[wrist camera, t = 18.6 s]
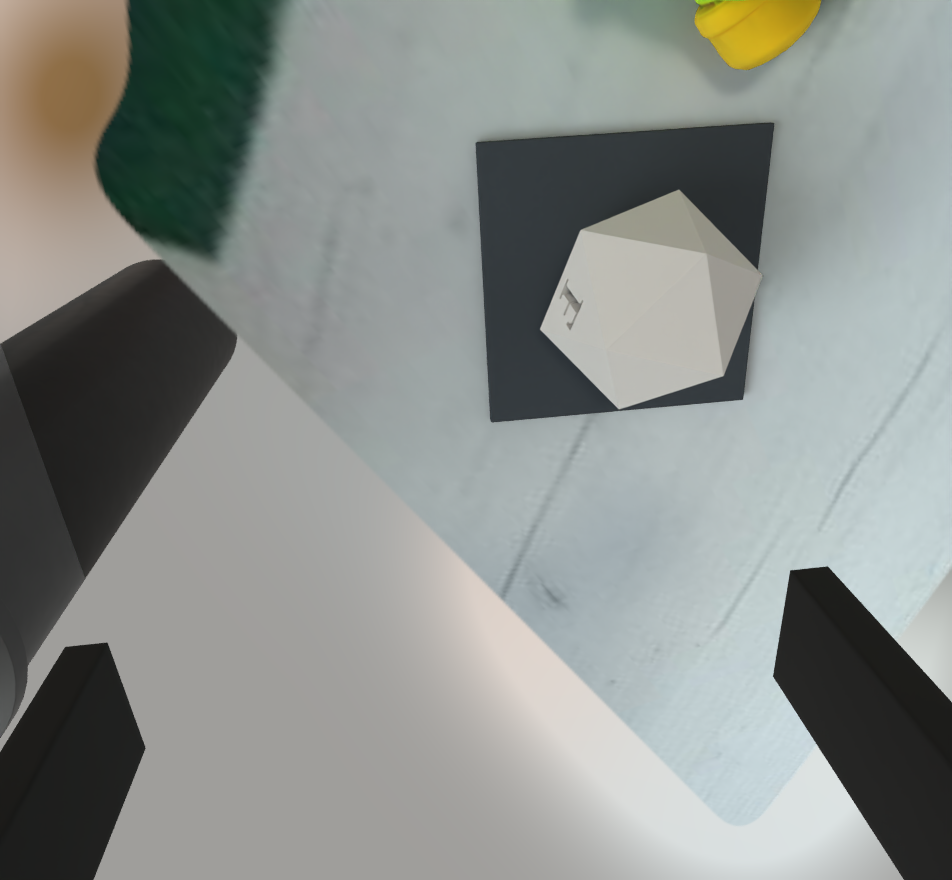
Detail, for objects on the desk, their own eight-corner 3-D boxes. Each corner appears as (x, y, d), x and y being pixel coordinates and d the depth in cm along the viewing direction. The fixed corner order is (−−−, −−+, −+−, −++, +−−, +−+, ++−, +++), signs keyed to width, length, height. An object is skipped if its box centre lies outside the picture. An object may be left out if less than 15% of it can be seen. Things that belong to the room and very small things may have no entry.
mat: (490, 419, 39) (491, 422, 39) (475, 142, 33) (476, 142, 33) (739, 396, 40) (743, 400, 39) (769, 122, 34) (774, 122, 33)
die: (639, 143, 34) (546, 204, 27) (813, 232, 32) (763, 321, 25) (575, 291, 40) (486, 372, 33) (719, 373, 38) (657, 477, 31)
